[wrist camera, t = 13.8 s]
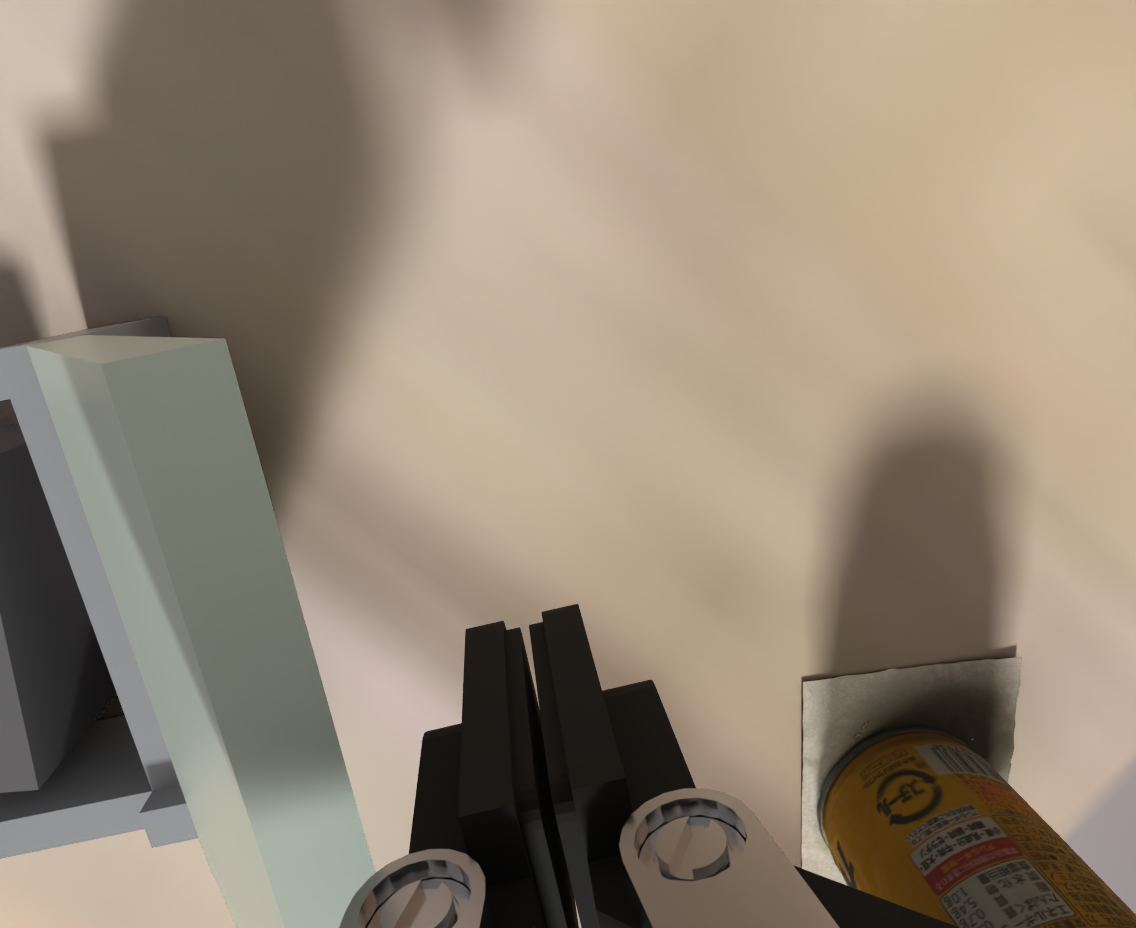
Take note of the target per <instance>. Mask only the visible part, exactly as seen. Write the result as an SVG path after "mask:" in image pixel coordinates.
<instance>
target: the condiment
mask: <svg viewBox="0 0 1136 928" xmlns="http://www.w3.org/2000/svg"><path fill="white" fill-rule="evenodd" d="M1021 661H1022V657H1016V658H1005V659H998V660H997V659H984V660H977V661H966V662H958V663H953V664H935V665H927V666H919V667H912V668H905V669H895V668H894V669H888V670H886V671H881V672H876V673H868V674H862V675H847V676H840V677H837V678H831V679H824V680H816V681H808V682H803V783H802V846H801V856H802V869H804V870H807V871H810V872H812V873H815V874H818V875H820V876H823V877H826V878H828V879H831V880H834V881H836V882H839V883H842V884H844V885H847V886H850V887H852V888H855V889H858V890H860V891H863V892H866V893H868V894H871V895H874V896H876V897H879V898H882V899H884V900H887V901H890V902H892V903H895V904H898V905H900V906H903V907H906V908H908V909H911V910H914V911H916V912H919V913H922V914H924V915H927V916H930V917H932V918H935V919H938V920H940V921H943V922H946V923H948V924H951V925H954V926H956V927H959V928H1136V914H1134V913H1133V912H1132V911H1131V909H1130V908H1129V907H1127V905H1126V904H1125V903H1124V902H1123V901H1122V900H1121V899H1120V898H1119V897H1118V896H1117V895H1116V894H1115V893H1114V892H1113V891H1112V890H1111V889H1110V888H1109V887H1108V886H1107V885H1106V884H1105V882H1104V881H1103V880H1102V879H1101V878H1100V877H1099V876H1098V875H1097V874H1096V873H1095V872H1094V871H1093V870H1092V869H1091V868H1090V867H1089V866H1088V865H1087V864H1086V863H1085V862H1084V861H1083V860H1082V859H1081V858H1080V857H1079V856H1078V855H1077V854H1076V853H1075V852H1074V851H1073V850H1072V849H1071V848H1070V846H1069V845H1068V844H1067V843H1066V842H1065V841H1064V840H1063V839H1062V838H1061V837H1060V836H1059V835H1058V834H1057V833H1056V832H1055V831H1054V830H1053V829H1052V828H1051V827H1050V826H1049V825H1048V824H1047V823H1046V822H1045V821H1044V820H1043V819H1042V818H1041V817H1040V816H1039V815H1038V814H1037V813H1036V812H1035V811H1034V810H1033V809H1032V808H1031V807H1030V806H1029V804H1028V803H1027V802H1026V801H1025V800H1024V799H1023V798H1022V797H1021V796H1020V795H1019V794H1018V793H1017V792H1016V791H1015V790H1014V789H1013V788H1012V787H1011V786H1010V785H1009V784H1008V777H1009V773H1010V768H1011V762H1010V761H1011V758H1012V755H1013V750H1014V728H1015V712H1016V701H1017V697H1018V692H1019V687H1020V672H1021ZM865 722H869V724H868V726H867V727H866V728H865V729H863V730H862V729H861V727H862V725H863V724H864V723H865ZM857 733H861V736H860V737H858V738H857V739H855V738H854V736H855V735H856V734H857ZM973 737H974V740H973V741H971V739H972V738H973Z"/></svg>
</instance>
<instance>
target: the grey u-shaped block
mask: <svg viewBox="0 0 1136 928" xmlns="http://www.w3.org/2000/svg"><path fill="white" fill-rule="evenodd" d="M81 335H105V336H143V337H171V334H170V331H169V327H168V324H167V321H166V317H165V316H161V317H155V318H150V319H144V320H138V321H132V322H126V323H120V324H114V325H109V326H103V327H97V328H91V329H85V330H81V331H76V332H71V333H67V334H62V335H57V336H53V337H48V338H43V339H39V340H34V341H29V342H25V343H20V344H15V345H10V346H6V347H1V348H0V401H2V400H8V399H10V400H11V403H12V406H13V408H14V411H15V414H16V417H17V419H18V422H19V425H20V428H21V430H22V433H23V436H24V439H25V441H26V444H27V447H28V450H29V452H30V455H31V458H32V461H33V464H34V466H35V469H36V472H37V475H38V477H39V480H40V483H41V486H42V488H43V491H44V494H45V497H46V499H47V502H48V505H49V508H50V510H51V513H52V516H53V519H54V521H55V524H56V527H57V530H58V532H59V535H60V538H61V541H62V543H63V546H64V549H65V552H66V554H67V557H68V560H69V563H70V566H71V568H72V571H73V574H74V577H75V579H76V582H77V585H78V588H79V590H80V593H81V596H82V599H83V601H84V604H85V607H86V610H87V612H88V615H89V618H90V621H91V623H92V626H93V629H94V632H95V634H96V637H97V640H98V643H99V645H100V648H101V651H102V654H103V657H104V659H105V662H106V665H107V668H108V670H109V673H110V676H111V679H112V681H113V684H114V687H115V690H116V692H117V695H118V698H119V701H120V703H121V706H122V709H123V712H124V714H125V715H123V716H118V717H113V718H108V719H103V720H98V721H94V722H93V723H92V724H91V725H90V727H89V728H88V729H87V730H86V732H85V733H84V734H83V735H82V737H81V738H80V739H79V740H78V742H77V743H76V744H75V745H74V747H73V748H72V749H71V750H70V752H69V753H68V754H67V755H66V757H65V758H64V759H63V760H62V762H61V763H60V764H59V765H58V766H57V768H56V769H55V770H54V771H53V773H52V774H51V775H50V776H49V778H48V779H47V780H46V781H45V783H44V784H43V785H42V786H41V788H40V789H39V790H31V791H18V792H5V793H0V859H1V858H6V857H11V856H16V855H20V854H25V853H30V852H35V851H40V850H45V849H49V848H54V847H59V846H64V845H69V844H74V843H78V842H83V841H88V840H93V839H98V838H103V837H107V836H112V835H117V834H122V833H127V832H132V831H136V830H141V829H145V830H146V833H147V836H148V839H149V841H150V844H151V847H152V848H153V847H158V846H163V845H168V844H172V843H177V842H182V841H187V840H192V839H196V838H198V835H197V832H196V829H195V827H194V824H193V821H192V818H191V815H190V812H189V809H188V807H187V804H186V801H185V798H184V795H183V792H182V789H181V787H180V784H179V781H178V778H177V775H176V772H175V769H174V767H173V764H172V761H171V758H170V755H169V752H168V749H167V747H166V744H165V741H164V738H163V735H162V732H161V730H160V727H159V724H158V721H157V718H156V715H155V712H154V710H153V707H152V704H151V701H150V698H149V695H148V692H147V690H146V687H145V684H144V681H143V678H142V675H141V672H140V670H139V667H138V664H137V661H136V658H135V655H134V652H133V650H132V647H131V644H130V641H129V638H128V635H127V633H126V630H125V627H124V624H123V621H122V618H121V615H120V613H119V610H118V607H117V604H116V601H115V598H114V595H113V593H112V590H111V587H110V584H109V581H108V578H107V575H106V573H105V570H104V567H103V564H102V561H101V558H100V555H99V553H98V550H97V547H96V544H95V541H94V538H93V536H92V533H91V530H90V527H89V524H88V521H87V518H86V516H85V513H84V510H83V507H82V504H81V501H80V498H79V496H78V493H77V490H76V487H75V484H74V481H73V478H72V476H71V473H70V470H69V467H68V464H67V461H66V458H65V456H64V453H63V450H62V447H61V444H60V441H59V438H58V436H57V433H56V430H55V427H54V424H53V421H52V419H51V416H50V413H49V410H48V407H47V404H46V401H45V399H44V396H43V393H42V390H41V387H40V384H39V381H38V379H37V376H36V373H35V370H34V367H33V364H32V361H31V359H30V356H29V353H28V350H27V347H26V346H27V345H31V344H36V343H41V342H46V341H51V340H57V339H62V338H68V337H74V336H81Z"/></svg>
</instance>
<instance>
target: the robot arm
mask: <svg viewBox="0 0 1136 928" xmlns="http://www.w3.org/2000/svg"><path fill="white" fill-rule="evenodd" d="M542 618H543V622H541V623H537V624H532V625H529V629H530V637H531V645H532V653H533V660H534V668H535V676H536V684H537V692H538V699H539V705H538V701H537V697H536V693H535V688H534V684H533V680H532V675H531V671H530V667H529V662H528V658H527V654H526V650H525V645H524V641H523V637H522V633H521V629H520V627H519V628H515V629H510V630H506V627H505V623H504V621H500V622H496V623H491V624H487V625H482V626H478V627H473V628H469V629H466V634H465V658H464V682H463V706H462V723H461V724H457V725H453V726H448V727H444V728H440V729H435V730H431V731H427V732H425V733H424V736H423V740H422V748H421V757H420V765H419V774H418V782H417V790H416V799H415V807H414V815H413V824H412V832H411V840H410V849H409V854H408V855H406V856H404V857H402V858H400V859H397V860H395V861H393V862H391V863H389V864H387V865H386V866H385V867H383V868H382V869H381V870H379V871H378V872H376V873H375V874H374V875H372V876H371V877H370V878H369V879H368V880H367V881H366V882H365V883H364V884H363V885H362V887H361V888H360V889H359V890H358V891H357V892H356V893H355V895H354V896H353V898H352V900H351V902H350V904H349V906H348V907H347V909H346V911H345V913H344V916H343V919H342V921H341V924H340V927H339V928H579V926H578V919H577V912H576V905H577V910H578V914H579V918H580V922H581V927H582V928H959V927H956V926H954V925H951V924H948V923H946V922H943V921H940V920H938V919H935V918H932V917H930V916H927V915H924V914H922V913H919V912H916V911H914V910H911V909H908V908H906V907H903V906H900V905H898V904H895V903H892V902H890V901H887V900H884V899H882V898H879V897H876V896H874V895H871V894H868V893H866V892H863V891H860V890H858V889H855V888H852V887H850V886H847V885H844V884H842V883H839V882H836V881H834V880H831V879H828V878H826V877H823V876H820V875H818V874H815V873H812V872H810V871H807V870H804V869H802V868H799V867H796V866H794V865H793V864H792V863H791V862H790V860H789V859H788V858H787V856H786V855H785V854H784V852H783V851H782V850H781V848H780V847H779V846H778V844H777V843H776V841H775V840H774V839H773V837H772V836H771V835H770V833H769V832H768V831H767V829H766V828H765V827H764V825H763V824H762V823H761V821H760V820H759V819H758V817H757V816H756V815H755V813H754V812H753V811H752V810H751V809H750V808H749V807H747V806H746V805H745V804H744V803H743V802H742V801H741V800H739V799H737V798H735V797H733V796H731V795H729V794H727V793H725V792H720V791H716V790H711V789H706V788H696V787H695V785H694V782H693V780H692V777H691V775H690V772H689V770H688V767H687V764H686V762H685V759H684V757H683V754H682V752H681V749H680V747H679V744H678V742H677V739H676V737H675V734H674V732H673V729H672V727H671V724H670V722H669V719H668V717H667V714H666V712H665V709H664V707H663V704H662V702H661V699H660V697H659V694H658V692H657V689H656V687H655V685H654V683H653V681H652V680H647V681H643V682H638V683H634V684H630V685H625V686H621V687H617V688H612V689H608V690H604V691H602V689H601V686H600V682H599V678H598V675H597V671H596V668H595V664H594V660H593V657H592V653H591V649H590V646H589V642H588V638H587V635H586V631H585V627H584V624H583V620H582V617H581V613H580V609H579V606H578V604H575V605H571V606H566V607H562V608H557V609H553V610H549V611H544V612H542ZM539 707H540V710H539ZM574 897H575V898H574ZM575 901H576V905H575Z"/></svg>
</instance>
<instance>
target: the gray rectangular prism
mask: <svg viewBox="0 0 1136 928" xmlns="http://www.w3.org/2000/svg"><path fill="white" fill-rule="evenodd" d="M116 693H117V692H116V690H115V687H114V684H113V681H112V679H111V676H110V673H109V670H108V668H107V665H106V662H105V659H104V657H103V654H102V651H101V648H100V645H99V643H98V640H97V637H96V634H95V632H94V629H93V626H92V623H91V621H90V618H89V615H88V612H87V610H86V607H85V604H84V601H83V599H82V596H81V593H80V590H79V588H78V585H77V582H76V579H75V577H74V574H73V571H72V568H71V566H70V563H69V560H68V557H67V554H66V552H65V549H64V546H63V543H62V541H61V538H60V535H59V532H58V530H57V527H56V524H55V521H54V519H53V516H52V513H51V510H50V508H49V505H48V502H47V499H46V497H45V494H44V491H43V488H42V486H41V483H40V480H39V477H38V475H37V472H36V469H35V466H34V464H33V461H32V458H31V455H30V452H29V450H28V447H27V444H26V441H25V439H24V436H23V433H22V430H21V428H20V425H19V424H15V425H0V793H5V792H18V791H31V790H39V789H40V788H41V786H42V785H43V784H44V783H45V781H46V780H47V779H48V778H49V776H50V775H51V774H52V773H53V771H54V770H55V769H56V768H57V766H58V765H59V764H60V763H61V762H62V760H63V759H64V758H65V757H66V755H67V754H68V753H69V752H70V750H71V749H72V748H73V747H74V745H75V744H76V743H77V742H78V740H79V739H80V738H81V737H82V735H83V734H84V733H85V732H86V730H87V729H88V728H89V727H90V725H91V724H92V723H93V722H94V720H95V719H96V718H97V717H98V716H99V714H100V713H101V712H102V711H103V709H104V708H105V707H106V706H107V704H108V703H109V702H110V701H111V699H112V698H113V697H114V696H115V694H116Z"/></svg>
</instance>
